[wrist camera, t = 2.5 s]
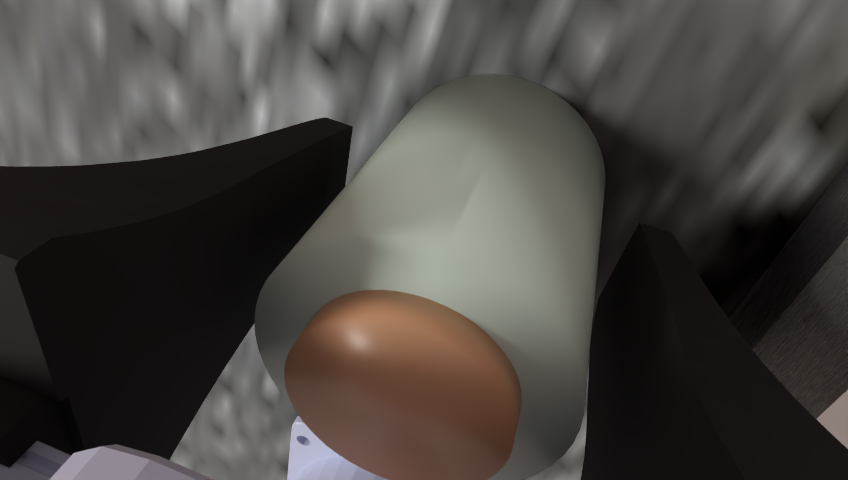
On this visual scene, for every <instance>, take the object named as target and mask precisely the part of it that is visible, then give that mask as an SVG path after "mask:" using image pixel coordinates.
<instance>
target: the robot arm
mask: <svg viewBox="0 0 848 480" xmlns="http://www.w3.org/2000/svg"><path fill="white" fill-rule="evenodd" d="M352 128H353V127H352V126H349V125H347V124H344V123H341V122H338V121H335V120H332V119H329V118H320V119H315V120H311V121H307V122H304V123H300V124H297V125H293V126H290V127H287V128H283V129H280V130H277V131H273V132H270V133H266V134H263V135H260V136H256V137H253V138H249V139H246V140H242V141H238V142H234V143H230V144H226V145H222V146H218V147H213V148H209V149H205V150H201V151H196V152H192V153H186V154H181V155H175V156H169V157H162V158H156V159H149V160H141V161H131V162H119V163H107V164H96V165H82V166H53V167H7V166H0V480H214V479H211V478H209V477H207V476H204V475H202V474H200V473H197V472H195V471H193V470H190V469H188V468H186V467H183V466H181V465H179V464H176V463H174V462H172V461H169V459H170V458H171V456H172V454H173V452H174V450H175V449H176V447H177V445H178V444H179V442H180V440H181V439H182V437H183V435H184V434H185V432H186V430H187V428H188V427H189V425H190V423H191V422H192V420H193V418H194V417H195V415H196V413H197V411H198V410H199V408H200V406H201V405H202V403H203V401H204V400H205V398H206V397H207V395H208V393H209V392H210V390H211V389H212V387H213V385H214V384H215V382H216V381H217V379H218V377H219V376H220V374H221V373H222V371H223V369H224V368H225V366H226V365H227V363H228V362H229V360H230V359H231V357H232V356H233V354H234V353H235V351H236V350H237V348H238V346H239V345H240V343H241V342H242V340H243V339H244V337H245V336H246V334H247V333H248V331H249V330H250V328H251V327H252V326H253V324H254V323H255V322H254V319H255V310H256V304H257V300H258V297H259V294H260V291H261V289H262V287H263V286H264V284H265V282H266V280H267V278H268V277H269V276H270V275H271V274H272V272H273V271H274V270H275V269H276V268H277V266H278V265H279V264H280V263H281V262H282V261H283V259H284V258H285V257H286V256H287V255H288V254H289V252H290V251H291V250H292V249H293V248H294V246H295V245H296V244H297V243H298V242H299V241H300V239H301V238H302V237H303V236H304V235H305V233H306V232H307V231H308V230H309V229H310V228H311V226H312V225H313V224H314V223H315V222H316V221H317V219H318V218H319V217H320V216H321V215H322V213H323V212H324V211H325V210H326V209H327V208H328V206H329V205H330V204H331V203H332V202H333V201H334V199H335V198H336V197H337V196H338V195H339V193H340V192H341V191H342V190H343V189H344V188H345V182H346V174H347V166H348V159H349V151H350V143H351V136H352ZM287 480H388V479H385V478H383V477H380V476H377V475H375V474H373V473H370V472H368V471H366V470H364V469H362V468H360V467H358V466H356V465H354V464H353V463H351V462H349V461H348V460H346V459H345V458H343V457H341V456H340V455H338V454H337V453H336V452H334V451H333V450H332V449H330V448H329V447H328V446H327V445H325V444H324V443H323V442H322V441H321V440H320V439H319V438H318V437H317V436H316V435H315V434H314V433H313V432H312V431H311V430H310V429H309V428H308V427H307V426H306V424H305V423H304V422H303V421H302V419H301V418H300V416H298V417H297V418H296V420H295V422H294V423H293V425H292V432H291V443H290V454H289V466H288V477H287ZM581 480H848V449H847V448H846V447H845V446H844V445H843V444H842V443H841V442H840V441H839V440H838V439H836V438H835V437H834V436H833V435H832V434H831V433H830V432H829V431H828V430H827V429H826V428H825V427H824V426H823V425H822V424H821V423H820V422H819V421H818V420H817V419H815V418H814V417H813V416H812V415H811V414H810V413H809V412H808V411H807V410H806V409H805V408H804V407H803V406H802V405H801V404H800V403H799V402H798V401H797V400H796V399H795V398H794V396H793V395H792V394H791V393H790V392H789V391H788V390H787V389H786V388H785V387H784V386H783V384H782V383H781V382H780V381H779V380H778V379H777V378H776V377H775V376H774V374H773V373H772V372H771V371H770V370H769V369H768V368H767V367H766V366H765V364H764V363H763V362H762V361H761V360H760V358H759V357H758V356H757V355H756V354H755V353H754V351H753V350H752V349H751V348H750V346H749V345H748V344H747V342H746V341H745V340H744V338H743V337H742V336H741V335H740V333H739V332H738V331H737V329H736V328H735V327H734V325H733V324H732V323H731V321H730V320H729V319H728V317H727V316H726V314H725V313H724V312H723V310H722V309H721V307H720V306H719V304H718V303H717V302H716V300H715V299H714V297H713V296H712V294H711V293H710V291H709V290H708V288H707V287H706V285H705V284H704V282H703V281H702V279H701V277H700V276H699V274H698V273H697V271H696V270H695V268H694V266H693V265H692V263H691V262H690V260H689V259H688V257H687V255H686V254H685V252H684V251H683V249H682V248H681V246H680V245H679V243H678V242H677V240H676V239H675V237H674V236H673V235H672V234H671V233H669V232H666V231H663V230H660V229H657V228H655V227H652V226H649V225H646V224H643V223H639V225H638V226H637V228H636V230H635V232H634V234H633V236H632V237H631V239H630V241H629V243H628V245H627V247H626V249H625V250H624V252H623V254H622V256H621V258H620V260H619V261H618V263H617V265H616V267H615V269H614V271H613V273H612V274H611V276H610V278H609V280H608V282H607V284H606V285H605V287H604V289H603V291H602V293H601V295H600V296H599V299H598V304H597V309H596V313H595V318H594V324H593V329H592V335H591V343H590V359H589V381H588V406H587V430H586V445H585V456H584V463H583V470H582V476H581Z"/></svg>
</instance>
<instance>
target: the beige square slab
mask: <svg viewBox="0 0 848 480" xmlns="http://www.w3.org/2000/svg"><path fill="white" fill-rule="evenodd" d="M729 320H730V321H731V323H732V324H733V325H734V327H735V328H736V329H737V331H738V332H739V333H740V335H741V336H742V337H743V338H744V340H745V341H746V342H747V344H748V345H749V346H750V348H751V349H752V350H753V351H754V353H755V354H756V355H757V356H758V357H759V358H760V360H761V361H762V362H763V363H764V364H765V366H766V367H767V368H768V369H769V370H770V371H771V372H772V373H773V374H774V376H775V377H776V378H777V379H778V380H779V381H780V382H781V383H782V384H783V386H784V387H785V388H786V389H787V390H788V391H789V392H790V393H791V394H792V395H793V396H794V398H795V399H796V400H797V401H798V402H799V403H800V404H801V405H802V406H803V407H804V408H805V409H806V410H807V411H808V412H809V413H810V414H811V415H812V416H813V417H814V418H815V419H817V420H818V421H819V422H820V423H821V424H822V425H823V426H824V427H825V428H826V429H827V430H828V431H829V432H830V433H831V434H832V435H833V436H834V437H835V438H836V439H838V440H839V441H840V442H841V443H842V444H843V445H844V446H845V447H846V448H847V449H848V163H847V165H846V166H845V167H844V169H843V170H842V171H841V173H840V174H839V175H838V176H837V178H836V179H835V180H834V182H833V183H832V184H831V186H830V187H829V188H828V189H827V191H826V192H825V193H824V195H823V196H822V197H821V199H820V200H819V201H818V203H817V204H816V205H815V206H814V208H813V209H812V210H811V212H810V213H809V214H808V216H807V217H806V218H805V220H804V221H803V222H802V223H801V225H800V226H799V227H798V229H797V230H796V231H795V233H794V234H793V235H792V236H791V238H790V239H789V240H788V242H787V243H786V244H785V246H784V247H783V248H782V250H781V251H780V252H779V253H778V255H777V256H776V257H775V259H774V260H773V261H772V263H771V264H770V265H769V266H768V268H767V269H766V270H765V272H764V273H763V274H762V276H761V277H760V278H759V280H758V281H757V282H756V283H755V285H754V286H753V287H752V289H751V290H750V291H749V293H748V294H747V295H746V297H745V298H744V299H743V300H742V302H741V303H740V304H739V306H738V307H737V308H736V310H735V311H734V312H733V313H732V315H731V316H730V317H729Z"/></svg>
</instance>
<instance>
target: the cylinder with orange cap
mask: <svg viewBox="0 0 848 480" xmlns="http://www.w3.org/2000/svg"><path fill="white" fill-rule="evenodd" d="M604 193H605V167H604V161H603V157H602V153H601V150H600V147H599V145H598V142H597V140H596V138H595V136H594V134H593V132H592V131H591V129H590V127H589V126H588V124H587V123H586V122H585V120H584V119H583V118H582V117H581V115H580V114H579V113H578V112H577V111H576V110H575V109H574V108H573V107H572V106H571V105H570V104H569V103H568V102H566V101H565V100H564V99H562V98H561V97H559V96H558V95H557V94H555V93H554V92H552V91H550V90H548V89H546V88H544V87H543V86H541V85H538V84H536V83H533V82H531V81H528V80H525V79H521V78H517V77H513V76H507V75H498V74H480V75H473V76H467V77H462V78H459V79H456V80H452V81H449V82H447V83H445V84H443V85H441V86H439V87H437V88H435V89H434V90H432V91H431V92H429V93H428V94H426V95H425V96H424V97H423V98H421V99H420V100H419V101H418V102H417V103H416V104H415V105H414V106H413V107H412V109H411V110H410V111H409V112H408V113H407V115H406V116H405V117H404V118H403V119H402V120H401V122H400V123H399V124H398V125H397V126H396V127H395V129H394V130H393V131H392V132H391V133H390V135H389V136H388V137H387V138H386V139H385V140H384V142H383V143H382V144H381V145H380V146H379V147H378V149H377V150H376V151H375V152H374V153H373V155H372V156H371V157H370V158H369V159H368V160H367V162H366V163H365V164H364V165H363V166H362V168H361V169H360V170H359V171H358V172H357V173H356V175H355V176H354V177H353V178H352V179H351V180H350V182H349V183H348V184H347V185H346V186H345V188H344V189H343V190H342V191H341V192H340V193H339V195H338V196H337V197H336V198H335V199H334V201H333V202H332V203H331V204H330V205H329V206H328V208H327V209H326V210H325V211H324V212H323V213H322V215H321V216H320V217H319V218H318V219H317V221H316V222H315V223H314V224H313V225H312V226H311V228H310V229H309V230H308V231H307V232H306V233H305V235H304V236H303V237H302V238H301V239H300V241H299V242H298V243H297V244H296V245H295V246H294V248H293V249H292V250H291V251H290V252H289V254H288V255H287V256H286V257H285V258H284V259H283V261H282V262H281V263H280V264H279V265H278V266H277V268H276V269H275V270H274V271H273V272H272V274H271V275H270V276H269V277H268V278H267V280H266V282H265V284H264V286H263V287H262V289H261V291H260V294H259V297H258V300H257V304H256V310H255V319H254V322H255V335H256V340H257V344H258V348H259V352H260V354H261V357H262V360H263V362H264V365H265V367H266V369H267V370H268V372H269V374H270V376H271V378H272V380H273V381H274V383H275V384H276V386H277V387H278V389H279V390H280V392H281V393H282V394H283V396H284V397H285V398H286V399H287V400H288V402H289V403H290V404H291V405H292V406H293V408H294V409H295V410H296V412H297V413H298V415H299V416H300V418H301V419H302V421H303V422H304V423H305V424H306V426H307V427H308V428H309V429H310V430H311V431H312V432H313V433H314V434H315V435H316V436H317V437H318V438H319V439H320V440H321V441H322V442H323V443H324V444H325V445H327V446H328V447H329V448H330V449H332V450H333V451H334V452H336V453H337V454H338V455H340V456H341V457H343V458H345V459H346V460H348V461H349V462H351V463H353V464H354V465H356V466H358V467H360V468H362V469H364V470H366V471H368V472H370V473H373V474H375V475H377V476H380V477H383V478H385V479H388V480H523V479H526V478H528V477H531V476H533V475H535V474H538V473H540V472H541V471H543V470H545V469H546V468H548V467H550V466H551V465H553V464H554V463H555V462H556V461H557V460H558V459H560V458H561V457H562V456H563V455H564V454H565V453H566V451H567V450H568V449H569V448H570V446H571V445H572V444H573V442H574V440H575V438H576V436H577V434H578V432H579V430H580V427H581V423H582V420H583V416H584V407H585V396H586V386H587V375H588V364H589V354H590V343H591V332H592V321H593V311H594V300H595V289H596V279H597V268H598V257H599V247H600V236H601V225H602V215H603V204H604Z"/></svg>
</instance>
